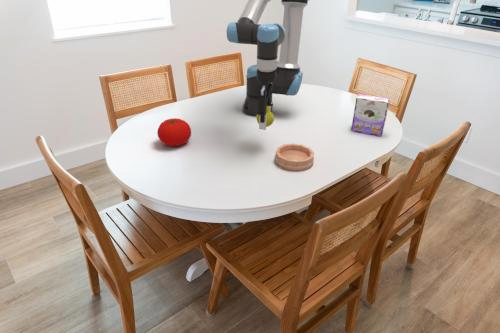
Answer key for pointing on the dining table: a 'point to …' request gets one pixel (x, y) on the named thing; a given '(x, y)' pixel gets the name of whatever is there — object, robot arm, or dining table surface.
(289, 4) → the robot arm
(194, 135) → the dining table surface
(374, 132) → the candy box
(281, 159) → the dish
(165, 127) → the tomato
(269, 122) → the fruit
